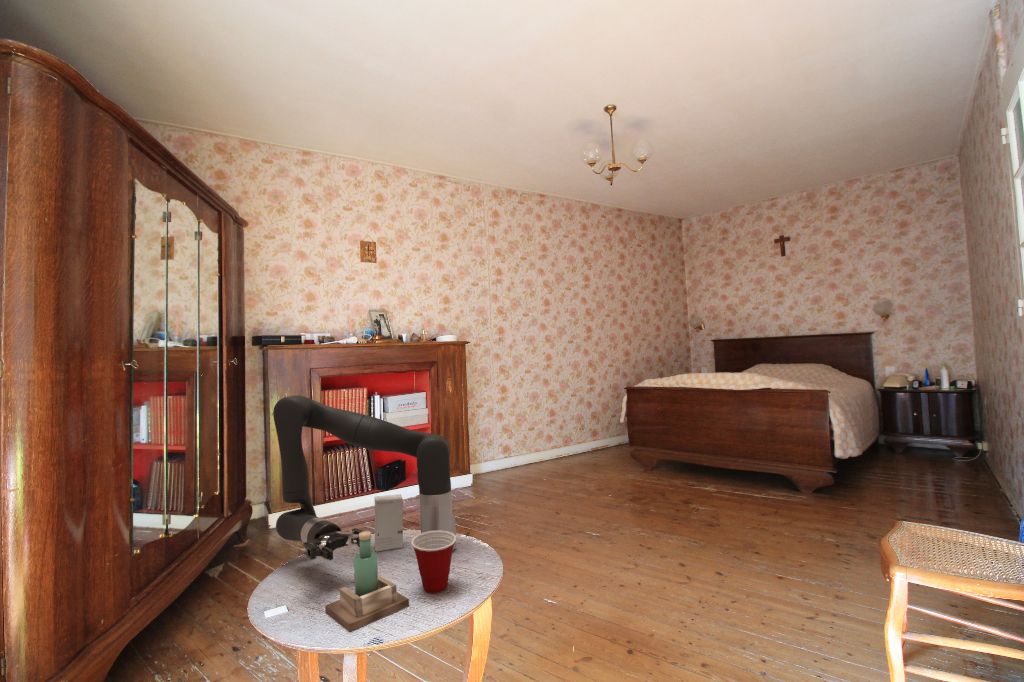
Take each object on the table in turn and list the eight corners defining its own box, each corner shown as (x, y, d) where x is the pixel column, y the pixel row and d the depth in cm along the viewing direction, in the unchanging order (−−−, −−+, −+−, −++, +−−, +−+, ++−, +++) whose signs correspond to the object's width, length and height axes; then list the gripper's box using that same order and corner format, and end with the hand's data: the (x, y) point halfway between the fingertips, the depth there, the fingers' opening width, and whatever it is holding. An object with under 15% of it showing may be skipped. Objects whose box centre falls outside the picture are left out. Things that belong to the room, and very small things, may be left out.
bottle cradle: (382, 589, 117) (381, 568, 118) (409, 605, 109) (408, 583, 109) (325, 612, 108) (324, 589, 108) (349, 631, 99) (349, 606, 99)
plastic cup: (414, 602, 110) (413, 549, 111) (411, 582, 120) (409, 533, 121) (461, 594, 113) (459, 542, 114) (454, 575, 124) (452, 527, 124)
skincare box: (375, 552, 142) (373, 501, 143) (374, 545, 148) (373, 496, 148) (404, 547, 144) (402, 497, 145) (402, 541, 150) (401, 492, 151)
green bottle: (371, 594, 112) (369, 527, 113) (382, 601, 108) (380, 532, 109) (351, 602, 108) (349, 533, 109) (361, 610, 105) (359, 538, 106)
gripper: (292, 527, 121) (319, 542, 110) (346, 513, 131) (376, 526, 120) (293, 558, 121) (319, 576, 110) (347, 541, 131) (377, 556, 119)
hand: (349, 550), depth 115 cm, fingers open, 8 cm apart
